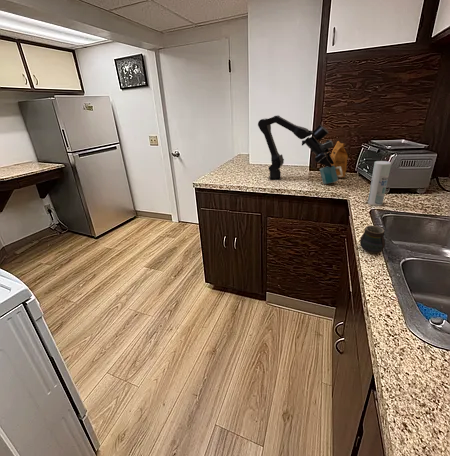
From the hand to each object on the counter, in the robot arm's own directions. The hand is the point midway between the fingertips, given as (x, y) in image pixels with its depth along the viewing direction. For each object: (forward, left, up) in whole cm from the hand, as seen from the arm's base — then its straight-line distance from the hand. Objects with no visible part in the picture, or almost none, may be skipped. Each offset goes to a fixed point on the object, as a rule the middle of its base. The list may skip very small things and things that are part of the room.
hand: (332, 165), depth 144 cm
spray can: (+9, -32, -12) cm, 35 cm away
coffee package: (+10, +15, -12) cm, 22 cm away
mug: (-4, +3, -7) cm, 9 cm away
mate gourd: (-14, -70, -12) cm, 73 cm away
